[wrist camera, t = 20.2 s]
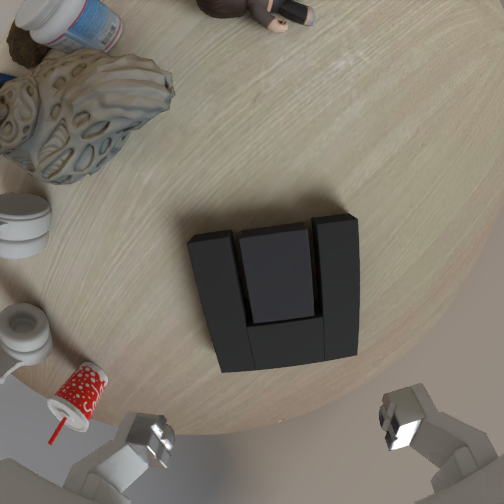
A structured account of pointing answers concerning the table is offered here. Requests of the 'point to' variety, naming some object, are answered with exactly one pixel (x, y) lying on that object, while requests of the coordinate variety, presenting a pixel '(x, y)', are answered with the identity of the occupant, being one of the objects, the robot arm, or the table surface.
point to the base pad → (291, 330)
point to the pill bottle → (70, 24)
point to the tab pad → (278, 272)
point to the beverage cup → (78, 398)
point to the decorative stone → (24, 47)
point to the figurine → (260, 11)
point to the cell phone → (5, 79)
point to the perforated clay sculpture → (78, 112)
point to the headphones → (22, 314)
